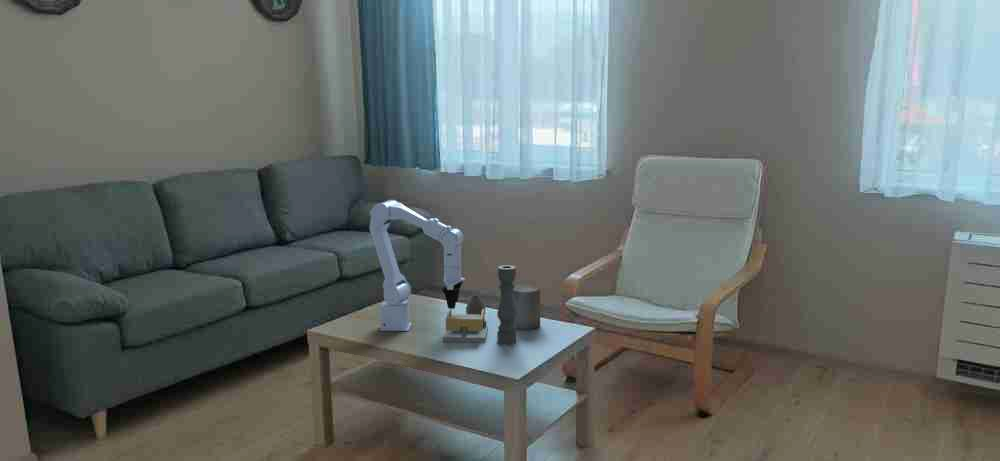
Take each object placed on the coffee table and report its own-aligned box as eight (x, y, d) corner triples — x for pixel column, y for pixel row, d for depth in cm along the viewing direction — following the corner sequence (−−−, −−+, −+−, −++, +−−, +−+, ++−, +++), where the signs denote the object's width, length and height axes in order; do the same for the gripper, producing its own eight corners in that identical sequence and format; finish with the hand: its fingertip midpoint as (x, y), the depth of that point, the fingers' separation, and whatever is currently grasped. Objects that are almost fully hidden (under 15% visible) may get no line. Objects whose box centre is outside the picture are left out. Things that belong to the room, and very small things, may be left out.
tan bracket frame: (482, 331, 247) (482, 319, 246) (445, 330, 248) (445, 318, 247) (484, 320, 258) (484, 309, 258) (449, 319, 259) (449, 308, 258)
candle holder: (502, 346, 243) (502, 270, 239) (494, 340, 249) (493, 266, 244) (519, 343, 246) (519, 268, 241) (510, 337, 252) (510, 264, 247)
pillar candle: (539, 321, 269) (538, 280, 266) (541, 329, 259) (541, 287, 256) (511, 321, 268) (511, 280, 266) (512, 330, 259) (512, 288, 256)
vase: (486, 317, 274) (486, 293, 272) (484, 323, 267) (484, 299, 265) (467, 316, 274) (467, 293, 273) (464, 322, 268) (464, 298, 266)
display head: (485, 342, 247) (485, 324, 246) (442, 341, 248) (442, 324, 246) (487, 329, 260) (487, 312, 259) (447, 329, 260) (446, 312, 259)
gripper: (462, 271, 244) (462, 311, 246) (466, 260, 258) (467, 299, 261) (440, 270, 244) (440, 311, 247) (446, 260, 258) (446, 298, 261)
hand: (452, 304), depth 254 cm, fingers open, 7 cm apart
